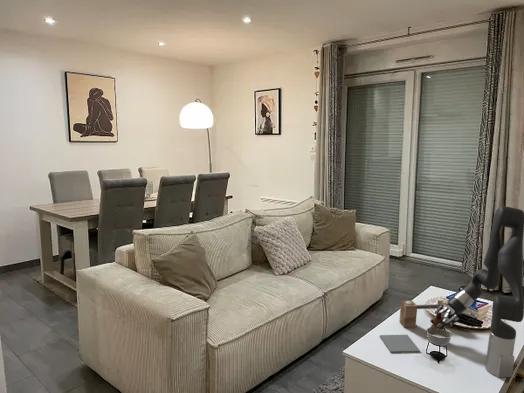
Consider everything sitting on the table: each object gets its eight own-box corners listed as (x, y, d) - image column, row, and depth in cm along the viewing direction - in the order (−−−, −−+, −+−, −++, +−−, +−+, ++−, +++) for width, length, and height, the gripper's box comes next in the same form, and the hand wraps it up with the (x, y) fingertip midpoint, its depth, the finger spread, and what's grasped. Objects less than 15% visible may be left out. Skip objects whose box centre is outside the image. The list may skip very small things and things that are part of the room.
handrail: (452, 326, 203) (455, 304, 201) (404, 327, 201) (406, 305, 199) (446, 321, 209) (448, 299, 207) (399, 322, 207) (401, 299, 205)
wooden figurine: (435, 342, 186) (437, 313, 184) (427, 336, 192) (429, 308, 189) (447, 341, 188) (449, 312, 186) (438, 335, 194) (441, 306, 191)
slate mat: (420, 352, 179) (420, 350, 179) (390, 352, 178) (390, 351, 178) (407, 336, 193) (407, 334, 193) (379, 336, 192) (379, 335, 192)
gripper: (448, 290, 194) (422, 313, 195) (464, 303, 180) (437, 327, 181) (457, 300, 195) (432, 323, 196) (474, 313, 181) (447, 338, 182)
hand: (434, 325), depth 189 cm, fingers closed on wooden figurine, 5 cm apart
